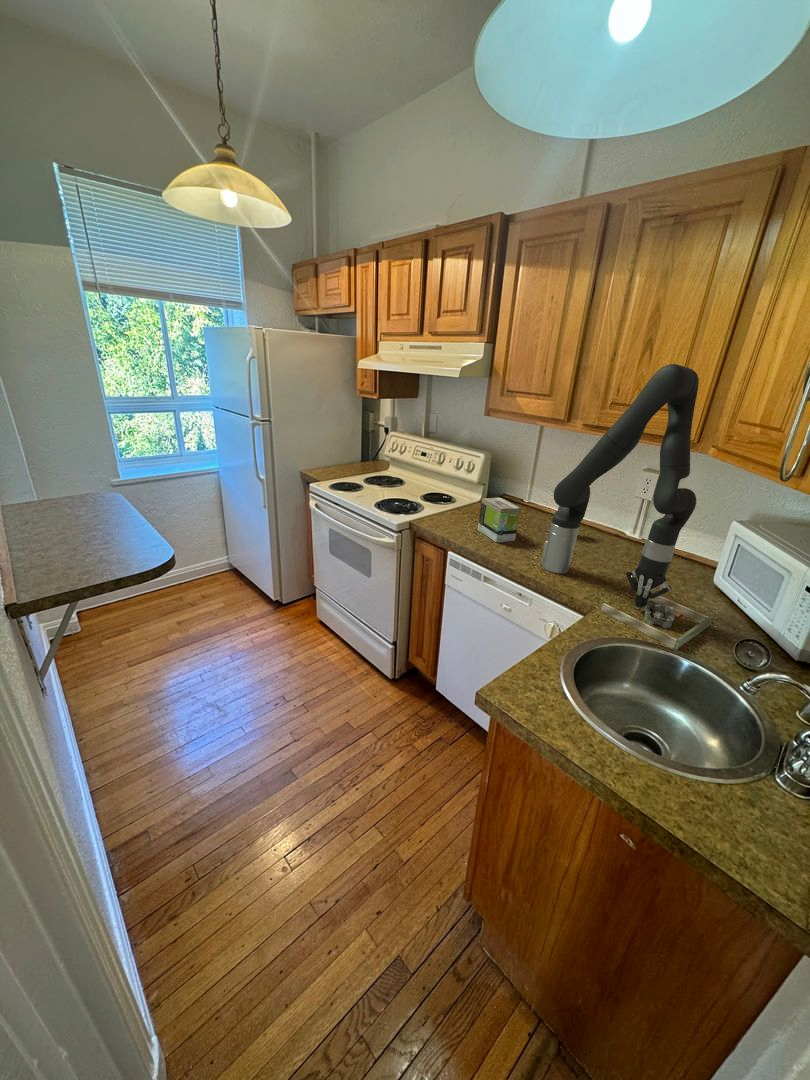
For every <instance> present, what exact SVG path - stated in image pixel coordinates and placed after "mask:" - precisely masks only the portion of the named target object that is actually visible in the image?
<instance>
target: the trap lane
mask: <svg viewBox="0 0 810 1080" xmlns="http://www.w3.org/2000/svg"><path fill="white" fill-rule="evenodd" d="M634 594H635V595H637V593H636V592H635V591H634ZM649 599H650V598H649ZM650 600H653V601H655V604H656V605H659V604H662V605H664V606H666V605H667V606H669V607H673V608H674V617H677V618H679V617H681V616H684V617H686V618H688V619H690V620H692V621H695V622H697V623H698V624H696V625H694V626H693V627H692V628H691V629H688V630H687V631H686V632H685V633H684V634H682V635H680V636H679V637H677V638H675V637H673V636H671V635H669V634H668V633H665V632H663V631H661V630H659V629H657V628H655V627H654V626H651V625H650V624H647V623H645V622H643V621H641V620H640V619H637V618H635V617H633V616H632V615H629V614H627V613H626V612H623V611H621V610H620V609H617V608H615V607H612V606H611V605H609V604H607V603H605V602H604V603H602V605H601V609H600V612H602V613H604V614H606V615H607V616H610V617H612V618H614V619H615V620H618V621H619V622H621V623H623V624H626V625H627V626H630V627H631V628H633V629H635V630H637V631H639V632H641V633H643V634H645V635H647V636H649V637H651V638H652V639H655V640H657V641H659V643H663V644H665V645H666V646H669V647H670V648H672V649H675V650H676V651H677V650H679V648H682V647H683V646H684V645H685V644H687V643H688V642H689V641H691V640H692V639H693V638H695V637H696V636H697V635H699V634H700V633H701V632H703V631H704V630H705V629H707V628H708V627H710V626H711V623H712V621H713V616H711V615H709V616H708V615H705V614H703V613H701V612H698V611H696V610H693V609H691V608H689V607H687V606H684V605H682V604H679V603H677V602H675V601H673V600H671V599H668V598H666V597H664V596H662V595H660V596H658V597H655V598H653V599H650Z"/></svg>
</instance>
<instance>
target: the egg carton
mask: <svg viewBox="0 0 810 1080" xmlns="http://www.w3.org/2000/svg"><path fill="white" fill-rule="evenodd" d="M643 609H644V616H645V617H644V621H645V622H647V623H648V622H649V623H648V625H651V624H652V626H654V625H657V626H660V627H661V628H663V629H668V628H669V629H670V628H671V627H672V624H673V622H674V621H675V616H674V608H673V607H669V606H667V605H666V606H664V605H662V604H657V603H655V601H653V600H650V599H648V602H647V604H646V606H644V608H643ZM650 610H652V611H653V613H652V611H650ZM651 613H652V614H653V615H654V616H653V615H652V616H653V617H652V616H651ZM665 618H666V619H665ZM653 624H654V625H653Z"/></svg>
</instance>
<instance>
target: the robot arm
mask: <svg viewBox="0 0 810 1080" xmlns="http://www.w3.org/2000/svg"><path fill="white" fill-rule="evenodd" d="M699 380H700V378H699V375H698V373H697V372H696V371H695V370H694V369H692V368H690V367H688V366H683V365H680V364H676V363H671V364H666V365H664V366H662V367H661V368H659V369H658V370H657V371H656V372H654V374H653V375H652V376H651V377H650V379H648V381H647V382H646V384H645V386H643V388H642V390H640V391H639V394H638V395H636V398H635V399H634V400H633V402H632V403H631V404H630V406H629V407H627V409H626V410H625V411H624V412H622V414H621V415H620V416H619V417H618V418H617V420H616V421H615V422H614V424H612V425H611V427H610V428H608V430H607V431H606V432H605V433H604V434H603V435H602V436H601V437H600V439H599V440H598V441H597V442H596V444H595V445H594V446H593V447H592V448H591V449H590V451H589V452H588V453H587V454H586V456H585V457H584V458H583V459H582V460H581V461H580V463H578V465H576V467H575V468H574V469H573V470H572V471H570V473H569V474H568V475H566V476H565V477H564V478H563V479H562V480H561V481H559V482H558V483H557V484H556V486H555V488H554V491H553V501H554V502H555V504H556V505H557V506H558V507H559V506H560V508H559V509H558V508H557V510H556V511H555V512H554V514H553V515H552V518H551V519H552V520H551V523H550V527H549V528H550V529H549V533H548V538H547V540H545V541H544V546H543V549H542V555H541V560H540V565H539V566H542V568H543V569H545V570H546V571H549V572H550V573H553V574H568V573H569V570H570V568H571V567H570V566H571V563H572V559H573V554H574V550H575V546H576V542H577V539H578V534H579V529H580V525H581V522H583V519H584V517H585V515H586V513H587V512H586V511H587V508H588V505H589V501H590V497H591V487H590V486H591V485H592V484H593V483H594V482H595V481H596V480H597V479H598V478H601V477H602V476H603V475H604V474H607V472H609V471H610V470H612V469H613V468H615V467H616V466H617V465H619V464H620V463H621V462H622V461H623V460H625V459H626V458H627V456H628V455H629V454H630V453H631V452H632V451H633V450H634V449H635V448H636V447H637V445H638V444H639V442H640V441H641V440H642V439H641V438H642V437H643V434H644V431H645V429H646V427H647V425H648V423H649V422H650V421H651V419H652V418H653V417H654V416H655V415H656V414H657V413H658V412H659V410H661V409H662V408H663V407H664V406H665V405H666V406H667V412H668V413H667V416H668V417H667V423H666V429H665V432H664V433H663V434H664V435H663V437H662V441H661V444H660V450H659V474H658V477H657V481H656V484H655V488H654V491H653V497H652V503H653V506H654V508H655V510H656V511H657V513H659V514H662V515H664V516H663V517H660V518H658V519H656V520H654V521H653V523H652V525H651V527H650V529H649V532H648V537H647V538H646V542H645V543H644V545H643V549H642V552H641V555H640V558H639V562H638V565H637V567H636V568H635V569H634V570H630V571H628V572H626V573H625V575H626V578H627V580H628V583H629V585H630V588H631V590H632V591H633V592H634V593H635V592H636V593H637V594H636V598H635V600H634V604H635V606H636V607H638V608H640V609H641V608H643V607H644V608H645V606H646V604H647V602H648V599H649V598H650V599H653V598H655V597H658V596H662V595H664V594H666V593H668V592H670V591H672V587H671V586H670V585H668V584H667V579H666V575H667V573H668V570H669V568H670V567H669V566H670V564H671V561H672V559H673V556H674V553H675V548H676V544H677V541H678V538H679V535H680V533H681V530H682V529H683V528H684V527H685V525H686V523H687V522H688V521H689V519H690V518H691V516H692V515H693V513H694V511H695V508H696V506H697V496H696V494H695V492H694V491H693V489H690V488H686V487H679V486H680V485H679V484H680V481H681V480H684V479H687V478H688V477H689V476H690V473H691V438H692V427H693V421H694V413H695V406H696V401H697V398H698V397H697V396H698V392H699V391H698V390H699V383H700V381H699ZM659 586H660V587H659ZM657 587H659V590H658V591H656V592H653V591H654V589H655V588H657Z"/></svg>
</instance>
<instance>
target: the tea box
mask: <svg viewBox="0 0 810 1080" xmlns="http://www.w3.org/2000/svg"><path fill="white" fill-rule="evenodd" d="M521 510H522V508H521V507H520V506H518V505H516V504H514V503H512V502H510V501H508V500H507V499H504V498H502V497H488V498H487V497H486V498H481V504H480V512H479V516H478V525H477V530H478V531H479V532H480V533H482V534H483V535H484V536H486V537H488V538H489V539H490V540H492V541H493V542H494V543H508V542H514V541H515V540H516V537H517V531H518V527H519V521H520V514H521Z"/></svg>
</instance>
